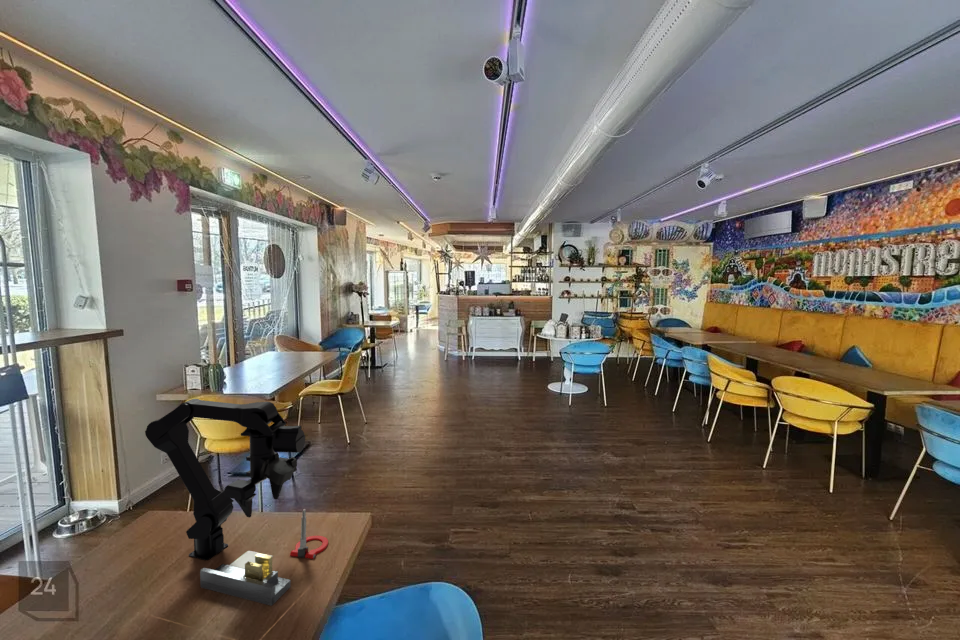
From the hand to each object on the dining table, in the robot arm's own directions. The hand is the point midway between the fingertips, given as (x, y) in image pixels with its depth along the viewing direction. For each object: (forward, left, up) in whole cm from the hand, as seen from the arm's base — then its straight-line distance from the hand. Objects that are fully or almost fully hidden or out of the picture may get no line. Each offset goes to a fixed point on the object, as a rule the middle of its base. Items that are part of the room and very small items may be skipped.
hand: (262, 507), depth 107 cm
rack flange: (+6, -12, -12) cm, 18 cm away
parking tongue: (0, -4, -12) cm, 13 cm away
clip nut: (+9, -11, -10) cm, 18 cm away
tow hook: (+11, +5, -13) cm, 18 cm away
